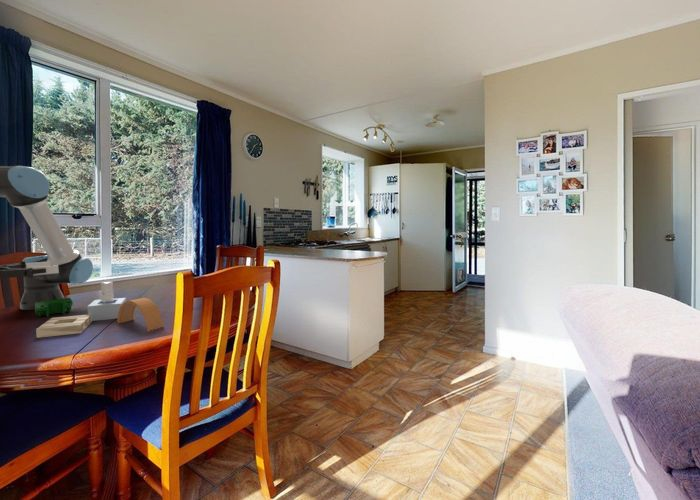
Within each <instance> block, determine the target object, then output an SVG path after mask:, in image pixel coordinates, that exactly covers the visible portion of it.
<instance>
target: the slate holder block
mask: <svg viewBox="0 0 700 500" xmlns="http://www.w3.org/2000/svg"><path fill="white" fill-rule="evenodd" d="M113 301H114V303H105V304H102V302H101V299H94V300H93V301H92V302H91V303H89V304H88V305H87V315H90V314H92V322H93V321H106V320H115V319H117V318H118V312H119V309H120V307H121V305H122V304H123V303H124V302H126V301H127V297H118V298H113Z"/></svg>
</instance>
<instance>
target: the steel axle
mask: <svg viewBox="0 0 700 500" xmlns="http://www.w3.org/2000/svg"><path fill="white" fill-rule="evenodd" d="M113 283H114V282H113V281H103V282H100V284H99V285H100V300H101V302H102V304H105V303H114V301H113V299H114V286H113V285H114V284H113Z"/></svg>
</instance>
